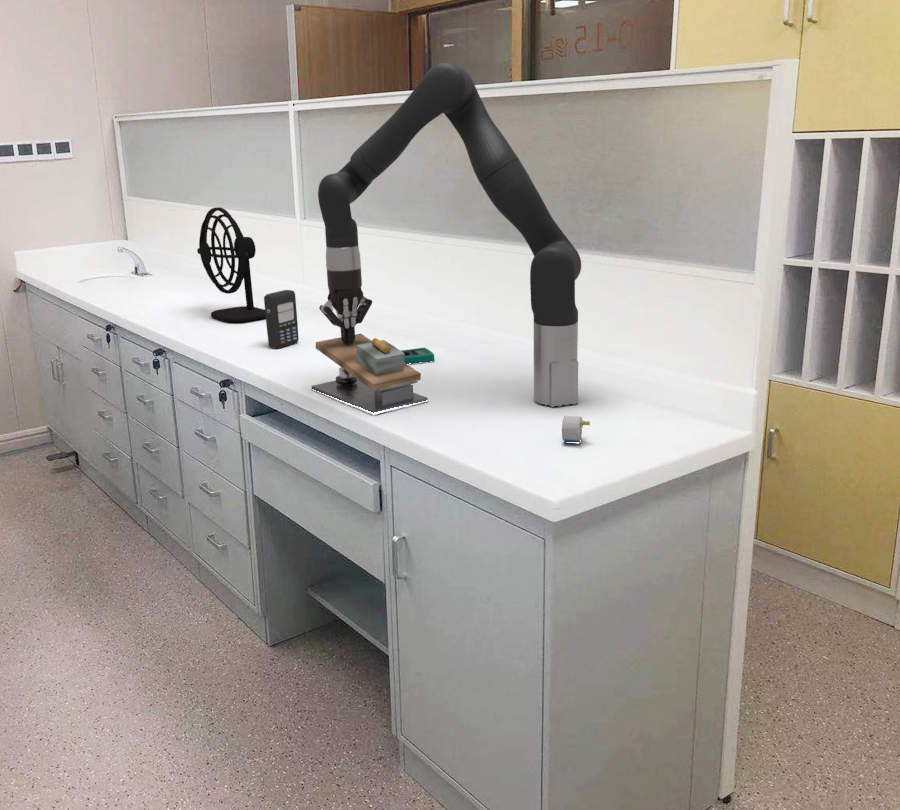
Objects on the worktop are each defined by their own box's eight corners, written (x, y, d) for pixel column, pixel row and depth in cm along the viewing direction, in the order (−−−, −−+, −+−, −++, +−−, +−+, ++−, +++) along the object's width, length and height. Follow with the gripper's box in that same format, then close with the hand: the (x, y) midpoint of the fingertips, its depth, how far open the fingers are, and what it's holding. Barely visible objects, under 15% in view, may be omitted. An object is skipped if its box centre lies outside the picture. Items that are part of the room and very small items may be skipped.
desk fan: (194, 315, 291) (181, 206, 281) (243, 307, 302) (232, 202, 291) (232, 328, 271) (219, 211, 261) (282, 319, 282) (272, 206, 271)
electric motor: (586, 449, 162) (587, 423, 161) (560, 447, 164) (560, 422, 162) (591, 436, 169) (591, 411, 167) (566, 435, 170) (566, 410, 169)
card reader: (277, 350, 243) (272, 295, 238) (267, 348, 245) (261, 294, 240) (300, 343, 250) (296, 290, 245) (290, 341, 252) (285, 288, 247)
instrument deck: (421, 382, 192) (424, 350, 188) (374, 393, 185) (376, 360, 181) (360, 340, 208) (362, 311, 205) (315, 349, 201) (316, 319, 198)
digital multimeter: (371, 363, 228) (371, 352, 227) (426, 356, 232) (426, 345, 231) (379, 370, 221) (378, 359, 220) (435, 363, 226) (435, 352, 225)
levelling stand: (427, 402, 193) (426, 381, 192) (373, 416, 185) (372, 394, 184) (363, 378, 213) (362, 359, 211) (311, 390, 205) (310, 370, 203)
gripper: (326, 272, 189) (331, 351, 194) (378, 264, 196) (382, 341, 202) (308, 268, 194) (314, 345, 200) (360, 261, 202) (364, 335, 207)
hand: (348, 343), depth 201 cm, fingers closed
